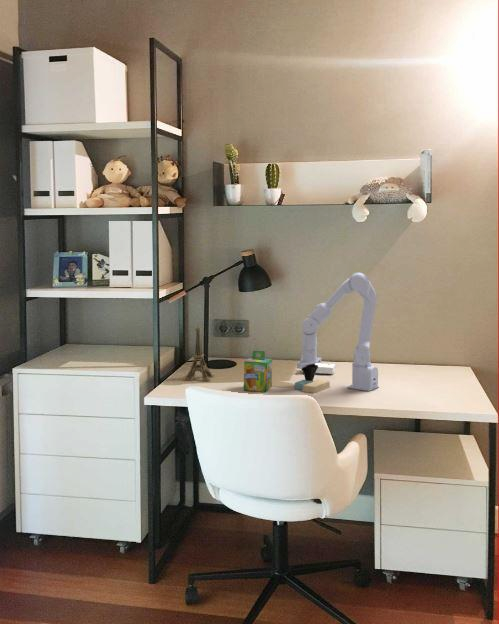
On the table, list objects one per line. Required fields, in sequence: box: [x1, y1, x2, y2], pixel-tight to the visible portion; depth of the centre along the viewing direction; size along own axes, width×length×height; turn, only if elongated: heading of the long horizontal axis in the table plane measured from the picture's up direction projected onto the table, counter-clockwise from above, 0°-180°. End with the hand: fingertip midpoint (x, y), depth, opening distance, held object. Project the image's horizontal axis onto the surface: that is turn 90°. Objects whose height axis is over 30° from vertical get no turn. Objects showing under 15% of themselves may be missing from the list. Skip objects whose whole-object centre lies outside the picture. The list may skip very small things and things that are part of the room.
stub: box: [294, 379, 312, 391], centre depth 296 cm, size 4×6×2 cm, turn 143°
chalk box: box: [243, 350, 273, 393], centre depth 294 cm, size 9×9×15 cm
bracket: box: [301, 362, 336, 375], centre depth 322 cm, size 13×7×8 cm, turn 75°
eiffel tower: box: [182, 326, 215, 383], centre depth 312 cm, size 11×11×25 cm
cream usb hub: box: [302, 379, 331, 394], centre depth 294 cm, size 5×11×2 cm, turn 143°
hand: (309, 383), depth 299 cm, fingers closed
